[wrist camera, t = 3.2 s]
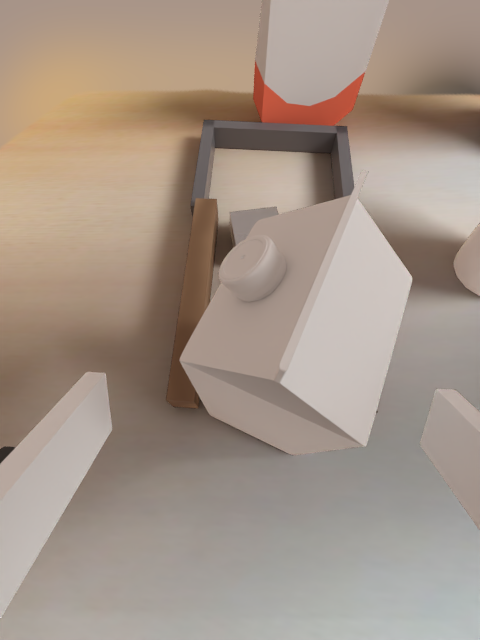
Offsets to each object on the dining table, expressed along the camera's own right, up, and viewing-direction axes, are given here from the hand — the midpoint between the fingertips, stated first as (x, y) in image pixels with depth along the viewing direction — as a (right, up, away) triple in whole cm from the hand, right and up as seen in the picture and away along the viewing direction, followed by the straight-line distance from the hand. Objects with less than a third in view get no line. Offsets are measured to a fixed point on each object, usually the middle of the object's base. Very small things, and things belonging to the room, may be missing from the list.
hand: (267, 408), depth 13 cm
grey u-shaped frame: (+2, +19, +22) cm, 29 cm away
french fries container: (+6, +28, +27) cm, 39 cm away
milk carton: (+1, -2, +13) cm, 14 cm away
